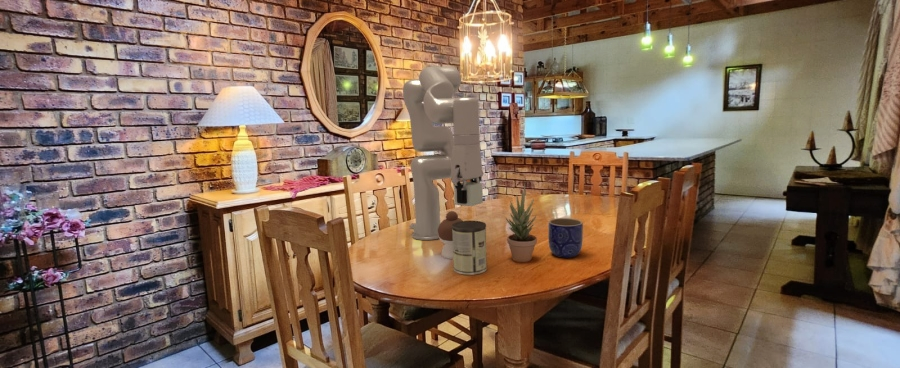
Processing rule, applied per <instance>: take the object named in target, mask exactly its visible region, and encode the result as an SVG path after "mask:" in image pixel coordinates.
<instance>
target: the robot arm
mask: <svg viewBox="0 0 900 368" xmlns="http://www.w3.org/2000/svg"><path fill="white" fill-rule="evenodd" d="M461 83H462V77H461V73H460V71H459V70H458V68H456V67H454V66H436V65H435V66H428V67H424V68H423V69H422V70H421V71H420V72H419V75H418V78H414V79H409V80H408V81H406V82H405V83H404V84H403V87H402V95H403V96H402V97H403V102H404V105H405V108H406V110H407V113H408V115H409V121H410V131H411V142H412V146H413V149H414V151H416V152H419V153H428V152H429V153H431V152H440V153H441V154H426V155H425V154H424V155H419V156H415V157H414V158H412V160H411V162H410V171H411V176H412V181H413V182H412V183H413V192H414V195H413V196H414V211H415V213H414V214H415V222H412V223H411V224H410V225H409V229H410V230H413V232H412V235H411V236H412V238H413V239H415V240H421V241H433V240H438V239H439V235H438V227H439V225H440V224H441V212H440V211H441V209H440V208H441V206H440V190H439V189H438V187H437V186H436V184H435V183H434V182H433V181H436V180H443V179H444V180H445V179H450V182H451V183H452V184H453V187H454V186H455V189H456V190H457V203H461V204H466V203H467V190H465V187H466V182H468V181H469V182H474V183H481V181H482V178H483V175H484V171H483V165H482V161H483V160H482V152H481V147H480V146H481V144H480V142H481V139H480V137H481V135H480V103H479V100H478V99H477V98H476V97H456V98H455V97H454V95H455V94H456V93H457V91H458V90H459V89H460V86H461ZM453 97H454V98H453ZM434 124H437V125H438V126H434ZM442 124H443V126H442ZM444 124H452V125H453V132H452V130H451V128H449V127H448V126H444ZM439 125H441V126H439ZM461 183H462V184H461ZM439 240H440V239H439Z"/></svg>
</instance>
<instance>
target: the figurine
mask: <svg viewBox="0 0 900 368" xmlns="http://www.w3.org/2000/svg"><path fill="white" fill-rule="evenodd" d="M445 218H446V219H442V221H440V225H439V227H438V235H439V240H440V242H442V243H443V246H442V249H441V253H440V254H441V257H442V258H443V259H447V260H454V259H453V233H452V224H454V223H456V222H460V221H463V219H462V218H460V217H459V215H458V213H457V212H456V211H452V210H451V211H447V213H446V216H445Z"/></svg>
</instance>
